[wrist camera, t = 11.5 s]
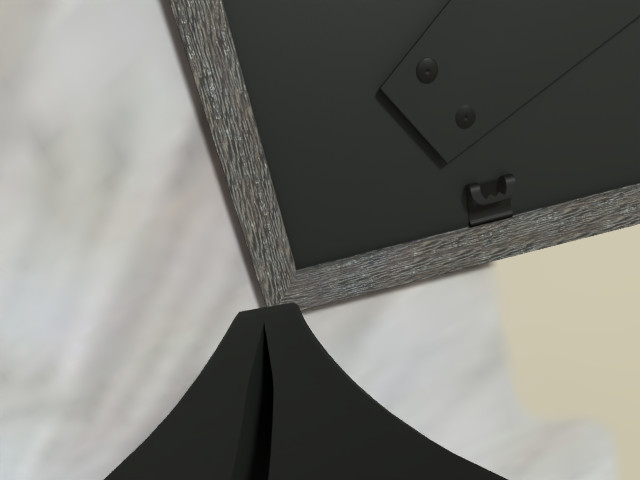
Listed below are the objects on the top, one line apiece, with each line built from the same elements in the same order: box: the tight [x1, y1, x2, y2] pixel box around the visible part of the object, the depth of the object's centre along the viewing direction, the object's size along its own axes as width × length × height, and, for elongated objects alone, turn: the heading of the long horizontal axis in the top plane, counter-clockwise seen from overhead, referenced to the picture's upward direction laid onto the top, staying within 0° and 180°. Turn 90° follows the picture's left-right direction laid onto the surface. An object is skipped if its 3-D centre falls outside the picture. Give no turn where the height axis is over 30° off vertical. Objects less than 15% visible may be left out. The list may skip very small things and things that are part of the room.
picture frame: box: [169, 0, 640, 310], centre depth 18 cm, size 16×2×21 cm
